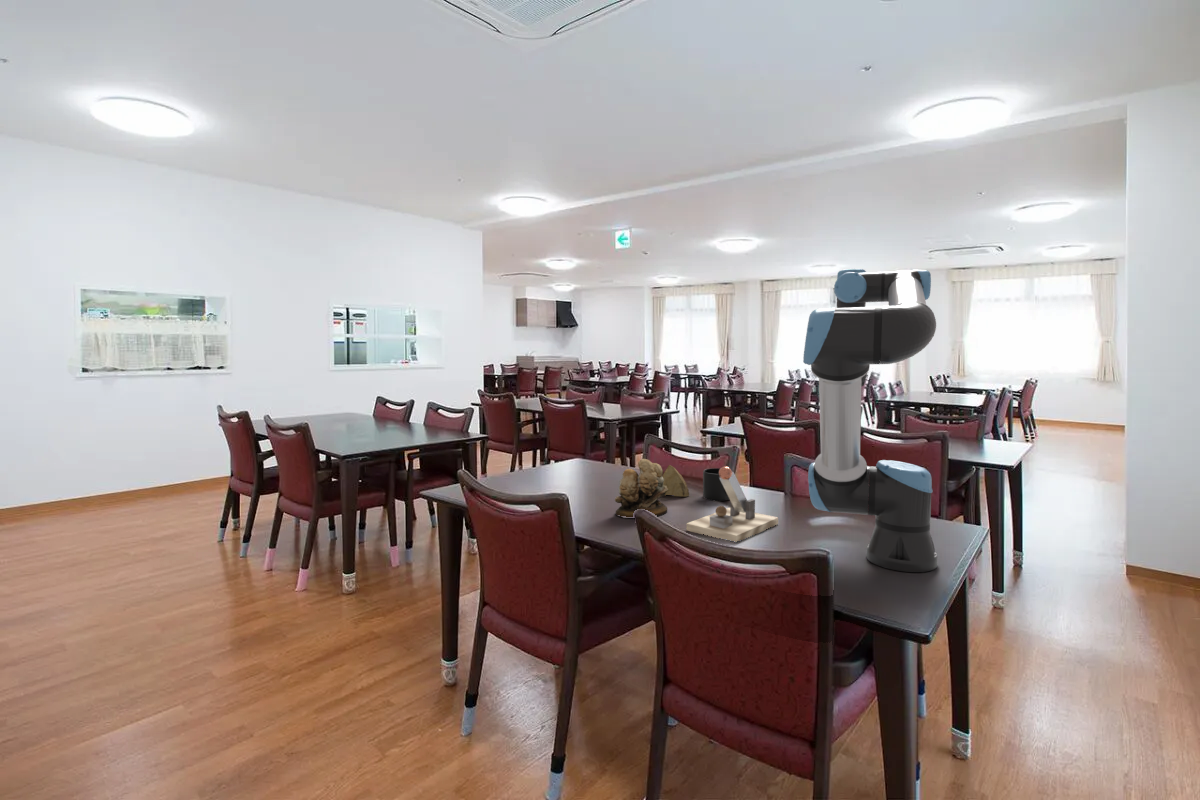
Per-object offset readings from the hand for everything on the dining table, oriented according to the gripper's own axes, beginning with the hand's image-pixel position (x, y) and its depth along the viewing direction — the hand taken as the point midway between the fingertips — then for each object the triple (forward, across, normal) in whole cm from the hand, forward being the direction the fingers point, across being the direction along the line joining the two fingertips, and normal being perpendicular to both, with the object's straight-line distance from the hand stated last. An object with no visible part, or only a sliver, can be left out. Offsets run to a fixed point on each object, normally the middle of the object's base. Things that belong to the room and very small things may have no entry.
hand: (848, 412), depth 172 cm
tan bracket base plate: (+32, +22, +22) cm, 45 cm away
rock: (+32, +57, +5) cm, 66 cm away
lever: (+28, +22, +18) cm, 40 cm away
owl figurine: (+33, +51, +28) cm, 67 cm away
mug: (+32, +43, -2) cm, 54 cm away
